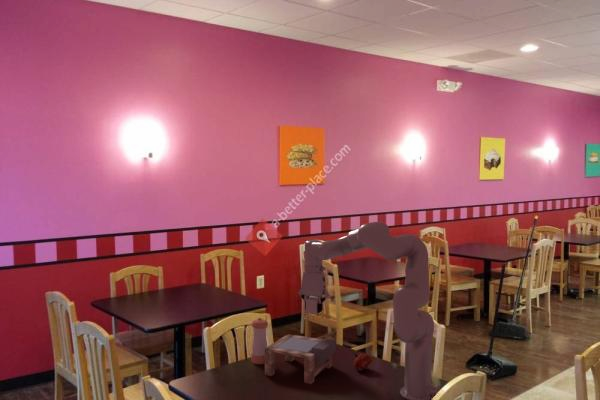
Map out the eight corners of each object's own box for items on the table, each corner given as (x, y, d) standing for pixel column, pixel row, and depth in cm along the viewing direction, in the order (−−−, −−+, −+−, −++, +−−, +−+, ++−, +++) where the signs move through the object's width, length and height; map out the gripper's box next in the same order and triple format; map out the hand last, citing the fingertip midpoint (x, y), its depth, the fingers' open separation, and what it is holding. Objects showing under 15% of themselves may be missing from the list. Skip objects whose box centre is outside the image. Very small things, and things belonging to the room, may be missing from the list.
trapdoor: (336, 351, 221) (336, 339, 221) (322, 362, 209) (322, 349, 208) (291, 344, 230) (291, 332, 230) (276, 354, 218) (276, 342, 217)
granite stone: (321, 311, 229) (321, 298, 228) (316, 314, 224) (316, 300, 224) (311, 310, 231) (311, 296, 231) (305, 313, 226) (305, 299, 226)
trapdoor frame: (331, 366, 226) (331, 340, 226) (311, 384, 208) (311, 356, 207) (288, 358, 235) (288, 334, 235) (264, 374, 217) (264, 348, 216)
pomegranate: (372, 373, 224) (356, 355, 228) (381, 363, 220) (364, 345, 225) (362, 380, 219) (346, 362, 223) (370, 370, 215) (354, 351, 219)
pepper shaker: (270, 363, 230) (270, 319, 229) (254, 365, 227) (254, 321, 226) (265, 357, 237) (265, 314, 236) (249, 359, 234) (249, 316, 233)
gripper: (335, 269, 226) (335, 311, 227) (299, 266, 234) (300, 307, 235) (328, 272, 219) (328, 315, 220) (291, 268, 227) (291, 311, 228)
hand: (313, 310), depth 227 cm, fingers closed on granite stone, 5 cm apart
